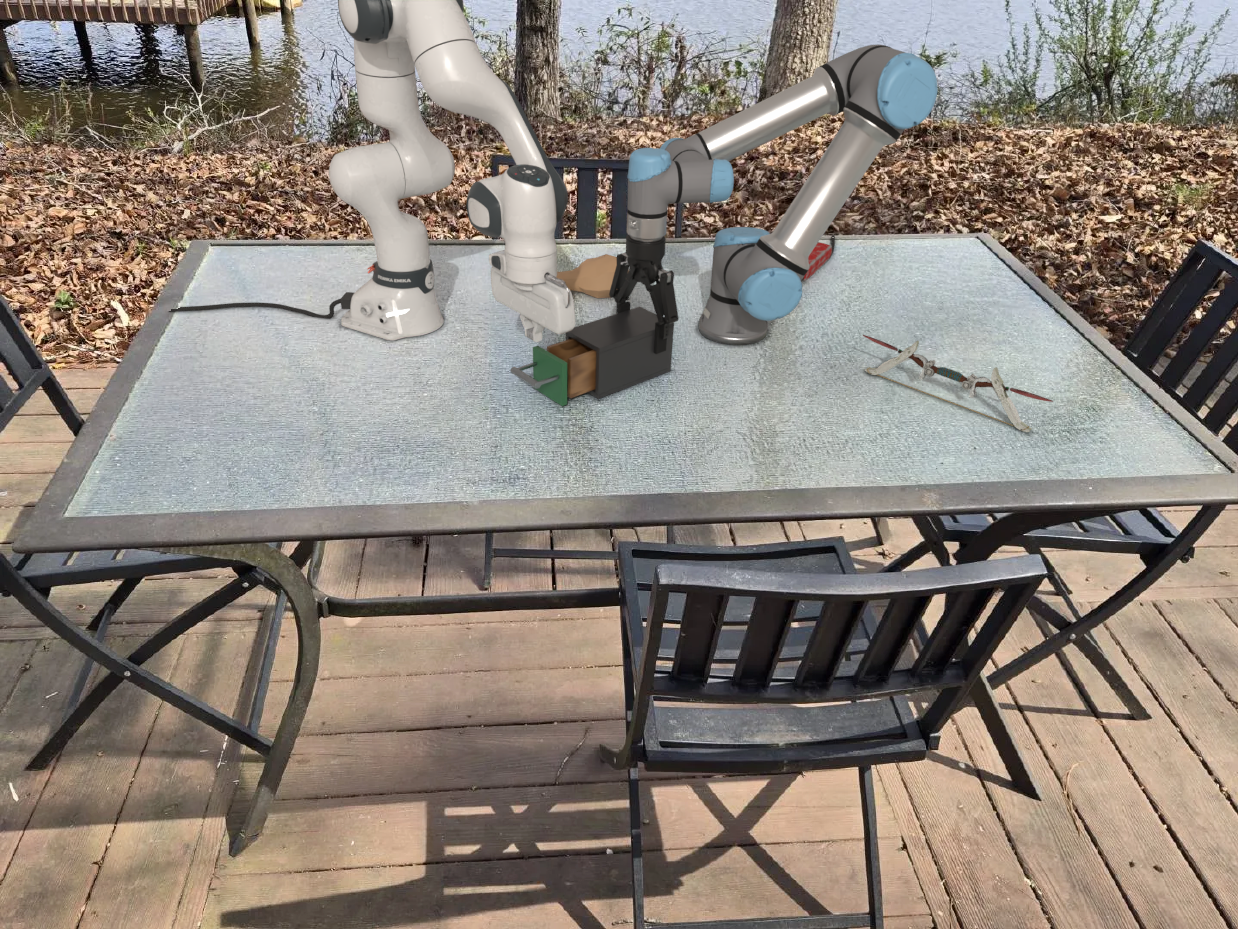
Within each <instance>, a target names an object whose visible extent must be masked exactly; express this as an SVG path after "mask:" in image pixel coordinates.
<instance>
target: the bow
mask: <svg viewBox="0 0 1238 929" xmlns="http://www.w3.org/2000/svg"><path fill="white" fill-rule="evenodd" d="M862 336H863V338H864V337H865V338H866V339H868V340H869V341H871V342H873V343H874V344H877V345H880V346H882V347H884V348H887V349H889V350H893V351H896V352H897V353H898V355H897V356H894V357H892V358H890V359H888V360H886V361H883V363H881V364H880V365H879V366H878V367H870V366H868V367H866V368H865V369H864V371H865V373H867V374H868V375H871V376H878V377H880V378H884V379H886V380H888V381H891V382H894V383H896V384H899V385H901V386H904V387H906V388H910V389H913V390H915V391H918V392H921V393H924V394H926V395H928V396H931V397H934V398H937V399H939V400H942V401H944V402H947V403H949V404H953V405H956V406H958V407H960V408H963V409H967V410H969V411H970V412H971V411H972V412H975V413H977V414H979V415H981V416H982V415H983V416H985V417H988V418H991V419H993V420H996V421H998V422H1001V423H1004V424H1007V425H1009V426H1012V427H1015V429H1016V430H1019V431H1021V432H1024V433H1030V432H1031V431H1032V430H1033V428H1032V427H1030V425H1027V424H1026V423H1025V422H1024V421H1022V420H1021V418H1020V414H1019V411H1018V409H1017V407H1016V406H1015V404H1014V402H1013V400H1012V399H1011V398H1010V397H1009V395H1008V393H1007V392H1009V391H1010V392H1012V393H1014V394H1018V395H1021V396H1023V397H1027V398H1031V399H1034V400H1038V401H1044V402H1050V403H1054V402H1055V400H1053V399H1049V398H1047V397H1044V396H1041V395H1038V394H1036V393H1032V392H1029V391H1026V390H1022V389H1019V388H1014V387H1009V386H1006V385H1005V384H1004V383H1005V381H1004V380H1003V378H1002V377H1001V375H1000V371H999V368H998V367H997V366H995V367H994V368H993V369H992V372H991V376H990V378H988V377H986V376H977V375H975V373H972V374H971V375H969V376H968V377H966V376H965V375H964V374H962V373H961V372H959V371H956V370H954V369H950V368H948V367H944V366H939V367H938V366H936V360H935V359H933V360H932V359H931V360H930V359H929V360H928V359H927V358H926V356H925V355H922V354H920V353H919V354H918V353H916V352H917V350H918V348H919V343H920V340H916V341H914V342H913V343H912V344H911V345H910V346H908V347H906V348H905V349H904V350H902V349H898V348H897V347H896V346H894V345H891V343H887V342H885V341H883V340H880V339H877V338H876V337H875V338H874V337H872V336H869V335H866V334H862ZM915 353H916V354H915ZM909 360H912V361H913V362H914V363H915V364H916V365H917V366H919V367H920V368H922V369H921V372H920V374H919V377H918V379H919V380H922V381H923V380H924V379H926V376H927V377H930V378H932V377H933V376H935V374H936V375H939V376H941V377H944V378H947V379H950V380H952V381H956V382H958V383H961V388H962V389H963V390H965V391H969V393H968V394H969V396H968V398H971V399H974V398H975V397H976V394H977V390H976V389H977V388H991V389H992V390H993V391H994V393H995V394H996V396H997V398H998V399H999V401H1000V403H1001V406H1002V408H1003V410H1004V411H1005V413H1006V415H1007V418H1008V419H1009V421H1010V422H1011V423H1009V422H1006V421H1004V420H1001V419H998V418H996V417H993V416H990V415H987V414H985V413H983V412H979V411H977V410H975V409H971V408H969V407H966V406H963V405H961V404H958V403H956V402H953V401H950V400H947V399H945V398H942V397H939V396H937V395H934V394H931V393H928V392H926V391H923V390H921V389H918V388H915V387H912V386H910V385H907V384H904V383H902V382H898V381H896V380H894V379H891V378H888V377H885V376H883V375H881V374H883V373H888V371H890V370H892V369H893V368H895V367H896V366H898V365H900V364H902V363H904V362H906V361H907V362H908V361H909Z"/></svg>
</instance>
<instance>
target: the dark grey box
mask: <svg viewBox="0 0 1238 929" xmlns="http://www.w3.org/2000/svg"><path fill="white" fill-rule="evenodd" d="M656 322H659V321H658V318H657V315H656V313H654V312H652V311H650V310H648V309H645V308H644V307H642V306H637V307H634V308H630V310H627V311H624V312H621V313H618V314H616V313H615V314H612V315H609V316H605V317H601V318H599V319H596V320H593V321H590V322H587V323H584V324H579V325H577V326H575V327H574V329H573V330H572V331H569V332H567V333H565V340H568V339H571V338H573V339H575V340H576V341H578V342H580V343H582V344H584V345H586V346H587V347H589V348H591V349H593V350H595V351H597V352H596V385H595V389H594V390H592V391H589V392H586V393H588V394H589V395H590V396H592V397H594V398H596V399H598V400H599V399H602V398H605V397H607V396H610V395H612V394H614V393H615V394H616V393H617V392H620V391H622V390H626V389H628V388H631V387H633V386H635V385H636V386H637V385H638V384H641V383H643V382H646V381H648V380H651V379H653V378H656V377H659V376H662V375H665V374H667V373H669V372H671V370H672V369H671V368H672V358H673V356H672V355H673V345H674V344H673V343H674V333H675V332H674V329H675V322H674V323H671V324H670V327H669V337H668V338H667V344H666V351H663V352H661V353H658V354H655V353H654V338H655V323H656Z"/></svg>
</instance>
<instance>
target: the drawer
mask: <svg viewBox="0 0 1238 929" xmlns="http://www.w3.org/2000/svg"><path fill="white" fill-rule="evenodd" d="M596 352H597V351H595V350H593V349H591V348H589V347H587V346H586V345H584V344H582V343H580V342H578V341H576V340H575V339H573V338H571V339H568V340H566V339H565V340H562V341H559V342H556V343H553V344H550V345H546V349H545V348H543V347H541V346H539V345H535V346H532V362H530V363H527V364H525V365H521V366H519V367H517V366H512V367H511V368H510V373H511V374H512V375H513V376H515V377H517V378H519V379H520V380H522V381H524V382H525V383H526V384H528V385H529V386H531V387H533V389H534V390H535V391H537V392H539V393H541V394H542V395H544V396H545V397H547V398H548V399H550V400H551V401H553V402H555V403H556V404H557V405H560V406H561V407H564V406H566V405H568V398H570V399H573V398H576V397H578V396H581V395H583V394H586V393H587V392H589V391H592V390H594V389H595V385H596ZM531 368H532V376H531V375H529V374H528V373H526V372H524V371H525V370H528V369H531Z"/></svg>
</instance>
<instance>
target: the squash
mask: <svg viewBox="0 0 1238 929" xmlns="http://www.w3.org/2000/svg"><path fill="white" fill-rule="evenodd" d="M616 266H617V256H616V255H615V256H614V255H611V254H607V253H605V254H602V255H599V256H597V257H591V258H586V259H585V260H583V261H582V262H580V264H579V265H578V266H577V267H575V268H574V269H571V270H563V271H562V270H561V271H557V276H556V277H557V278H558V279H562V280H563V281H565V283H566V286H567V287H568V289H570V291H571V292H573V291H574V292H579V293H583V294H586V295H587V296H590V297H593V298H595V299H606V298H609V299H610V298H611V297H610V296H609V292H610V288H611V285H612V281H613V277H614V273H615V269H616ZM629 269H630V268H629ZM629 269H628V272H629ZM627 274H628V273H627ZM616 290H617V289H616Z"/></svg>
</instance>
